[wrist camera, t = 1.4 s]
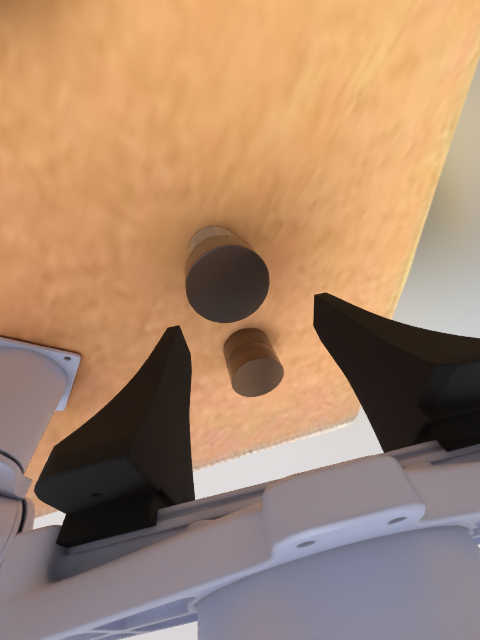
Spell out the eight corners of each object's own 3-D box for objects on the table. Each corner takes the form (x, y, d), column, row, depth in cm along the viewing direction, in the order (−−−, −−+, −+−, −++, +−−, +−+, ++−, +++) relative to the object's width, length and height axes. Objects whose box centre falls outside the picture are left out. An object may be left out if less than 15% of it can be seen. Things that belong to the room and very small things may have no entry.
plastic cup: (179, 265, 20) (180, 288, 16) (201, 215, 18) (207, 228, 15) (224, 284, 22) (235, 309, 18) (248, 241, 20) (265, 258, 16)
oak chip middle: (228, 383, 26) (232, 401, 24) (226, 346, 23) (231, 363, 21) (273, 375, 27) (281, 391, 25) (277, 338, 24) (286, 354, 22)
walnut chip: (172, 290, 16) (172, 307, 14) (204, 218, 14) (209, 227, 12) (236, 314, 19) (243, 332, 17) (272, 255, 16) (285, 268, 15)
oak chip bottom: (215, 358, 26) (218, 373, 25) (237, 322, 24) (243, 336, 23) (253, 368, 29) (259, 383, 27) (276, 336, 27) (284, 349, 25)
